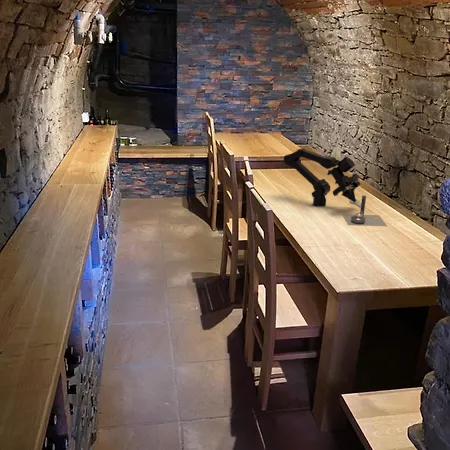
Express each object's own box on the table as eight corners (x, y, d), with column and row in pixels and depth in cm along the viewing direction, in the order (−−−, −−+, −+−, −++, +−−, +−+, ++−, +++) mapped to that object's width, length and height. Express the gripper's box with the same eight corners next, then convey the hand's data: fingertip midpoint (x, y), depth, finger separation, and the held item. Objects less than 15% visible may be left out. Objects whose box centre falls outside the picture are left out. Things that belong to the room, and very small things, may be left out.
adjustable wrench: (373, 215, 268) (373, 212, 268) (361, 215, 268) (361, 212, 267) (358, 201, 292) (358, 198, 291) (347, 201, 291) (348, 198, 290)
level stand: (347, 226, 250) (348, 224, 249) (341, 215, 265) (341, 213, 265) (387, 228, 249) (387, 225, 249) (378, 216, 265) (378, 214, 265)
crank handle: (352, 223, 251) (355, 202, 247) (347, 215, 262) (349, 195, 258) (368, 224, 250) (371, 202, 246) (363, 215, 262) (365, 195, 258)
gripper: (339, 171, 254) (355, 197, 251) (359, 166, 266) (375, 190, 263) (325, 183, 262) (341, 208, 259) (345, 177, 274) (360, 201, 271)
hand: (355, 201), depth 263 cm, fingers closed
